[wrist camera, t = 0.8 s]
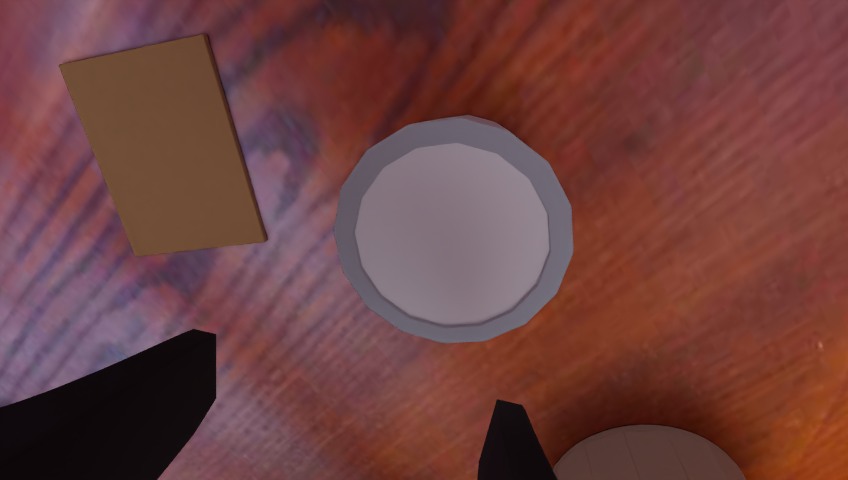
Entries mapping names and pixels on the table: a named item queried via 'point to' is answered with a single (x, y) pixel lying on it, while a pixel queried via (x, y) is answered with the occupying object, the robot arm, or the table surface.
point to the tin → (646, 456)
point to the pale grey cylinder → (454, 230)
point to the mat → (166, 146)
